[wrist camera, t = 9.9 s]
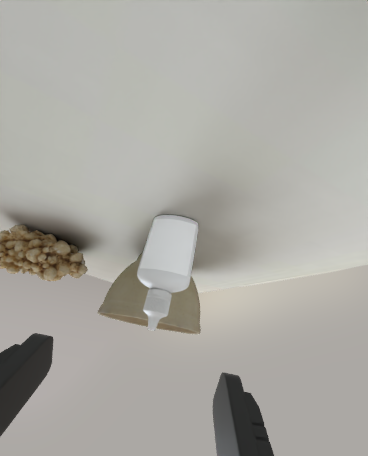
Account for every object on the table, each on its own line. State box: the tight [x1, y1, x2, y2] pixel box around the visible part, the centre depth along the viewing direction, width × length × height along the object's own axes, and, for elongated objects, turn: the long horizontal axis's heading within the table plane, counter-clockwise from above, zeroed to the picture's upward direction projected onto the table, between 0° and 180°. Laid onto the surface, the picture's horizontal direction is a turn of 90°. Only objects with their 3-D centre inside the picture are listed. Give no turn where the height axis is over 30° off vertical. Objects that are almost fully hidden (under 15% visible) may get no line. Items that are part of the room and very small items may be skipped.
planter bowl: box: [98, 253, 200, 334], centre depth 32 cm, size 16×16×11 cm
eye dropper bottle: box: [137, 215, 198, 331], centre depth 20 cm, size 4×6×12 cm
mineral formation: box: [0, 225, 88, 281], centre depth 34 cm, size 8×13×15 cm
